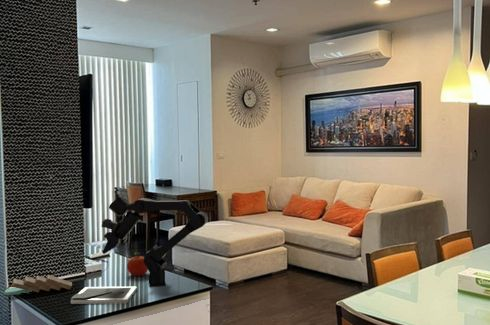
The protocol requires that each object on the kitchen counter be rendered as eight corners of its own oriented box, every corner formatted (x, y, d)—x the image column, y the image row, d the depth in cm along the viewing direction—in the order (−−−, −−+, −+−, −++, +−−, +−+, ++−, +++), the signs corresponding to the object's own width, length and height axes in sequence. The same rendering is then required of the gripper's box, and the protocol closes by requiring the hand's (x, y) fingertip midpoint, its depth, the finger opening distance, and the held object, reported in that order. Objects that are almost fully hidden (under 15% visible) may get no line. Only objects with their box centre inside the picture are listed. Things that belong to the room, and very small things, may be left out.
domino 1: (34, 286, 191) (7, 288, 188) (31, 290, 186) (4, 292, 183) (34, 290, 191) (7, 292, 188) (32, 294, 186) (4, 296, 184)
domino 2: (39, 284, 191) (13, 278, 186) (40, 288, 186) (13, 282, 182) (38, 288, 191) (12, 282, 186) (38, 292, 186) (12, 286, 182)
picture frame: (70, 305, 173) (127, 305, 173) (70, 298, 173) (126, 297, 173) (85, 292, 189) (136, 291, 189) (85, 285, 189) (136, 284, 189)
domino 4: (61, 283, 193) (37, 275, 190) (61, 287, 189) (36, 279, 185) (59, 286, 193) (35, 279, 190) (59, 290, 189) (34, 282, 185)
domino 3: (50, 283, 192) (25, 276, 188) (50, 287, 188) (25, 280, 183) (48, 287, 192) (23, 280, 188) (49, 291, 188) (23, 284, 183)
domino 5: (72, 282, 194) (48, 274, 191) (71, 286, 190) (47, 278, 187) (70, 286, 194) (46, 278, 191) (70, 289, 190) (45, 281, 187)
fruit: (130, 279, 204) (130, 256, 203) (124, 274, 212) (124, 252, 212) (152, 275, 209) (151, 253, 208) (145, 270, 217) (144, 249, 216)
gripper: (117, 210, 205) (94, 238, 204) (107, 212, 187) (81, 243, 186) (137, 226, 205) (114, 255, 204) (128, 229, 187) (103, 260, 185)
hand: (103, 253), depth 195 cm, fingers closed
